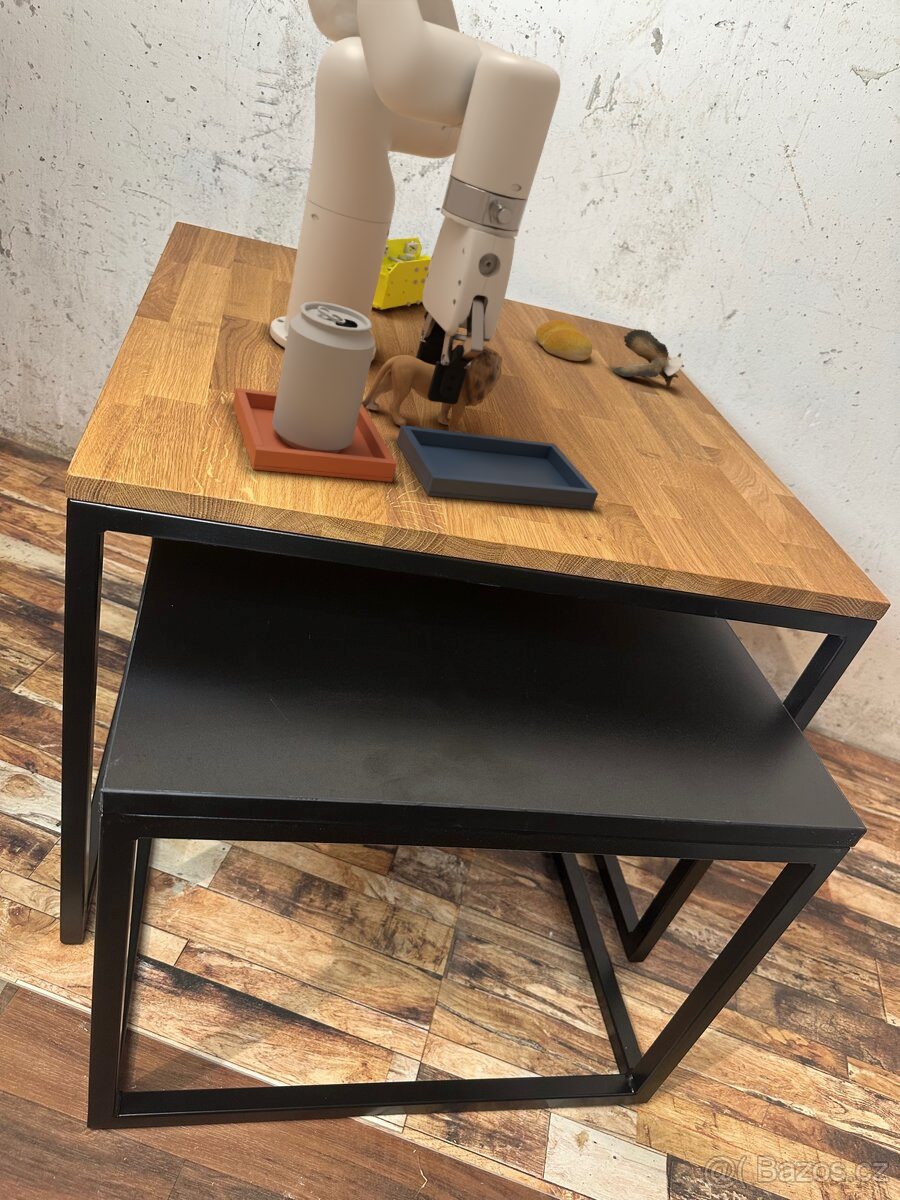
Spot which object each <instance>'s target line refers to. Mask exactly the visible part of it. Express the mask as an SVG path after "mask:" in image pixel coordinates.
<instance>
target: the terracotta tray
mask: <svg viewBox="0 0 900 1200" xmlns="http://www.w3.org/2000/svg"><path fill="white" fill-rule="evenodd" d="M276 397H277V392H274V391H265V390H256V389H249V388H242V387H235V389H234V397H233V403H232V407H233V410H234V415H235V417H236V421H237V423H238V426H239V429H240V432H241V436H242V439H243V442H244V445H245V448H246V449H245V450H246V452H247V455H248V459H249V462H250V464H251V467H252V470H255V471H267V472H277V473H289V474H300V475H310V476H321V477H332V478H343V479H355V480H364V481H375V482H387V483H392V482H393V480H394V476H395V471H396V468H397V462H396V459H395V458H394V457H393V455H392V453H391V452H390V450H389V448H388V446H387V444H386V443H385V441H384V440H383V437H382V435H381V434H380V432H379V430H378V429H377V426H375V423H374V421H373V420H372V418H371V416H370V414H369V412H368V411H367V409H366V407H365V408H364V406H363V404H361V407H360V411H359V416H358V420H357V424H356V429H355V433H354V437H353V441H352V444H351V445H349V446H348V447H346V448H344V449H342V450H340V451H339V452H337V453H334V454H333V453H323V452H313V451H304V450H298V449H296V448H293V447H291V446H290V445H288V444H287V443H285V442H284V441H283V440H282V439H281V438H280V435H279V434H278V433H277V432H276V430H275V429H274V428H273V424H272V420H273V414H274V409H275V403H276Z"/></svg>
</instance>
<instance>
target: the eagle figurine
mask: <svg viewBox="0 0 900 1200" xmlns="http://www.w3.org/2000/svg"><path fill="white" fill-rule="evenodd" d="M623 338H624V339H623V341H624V343H625V344H624V346H625V347H626V348H628V349H629V351H631V352H633V353H635V354H636V355H637V356H638V357H641V358H643V359H645V360H646V361H647V362H648V363H647V362H646V363H644V362H643V363H630V364H628V365H626V366H618V367H615V368H613V369H612V372H613V373H614V374H617V375H618V376H621V377H627V378H632V377H633V378H634V377H639V376H641V377H648V378H656V377H658V376H659V375H660V376H661V377H662V378H663V379H664V381H665V387H667V389H669V388H670V387H671V383H672V380H673V379H674V378H676V379H678V378H679V375H678V374H677V373H678V372H679V371H680V370H681V368H684V367H685V364H683V362H684V361H683V359H682V353H681V352H680V353H678V355H676V356H675V357H671V358H670V359H668V358H669V350H668V347H667V346H666V344H665V343H663V342H660V341H659V340H658V338H656V337H655V336H654V335H653V334H652V332H651V331H649V330H645V329H636V328H634V329H633V330H630V331H629V332H627V333H626V334H625V335H624V336H623Z"/></svg>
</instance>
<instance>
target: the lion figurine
mask: <svg viewBox="0 0 900 1200" xmlns="http://www.w3.org/2000/svg"><path fill="white" fill-rule="evenodd" d="M416 357H417V356H413V355H411V354H410V355H409V354H400V355H395V356H392V357H390V358H389V359H388V360H387V361H385V363H384V364H383V365H382V366H381V368H380V369H379V370H378V372H377V374H376V376H375V378H374V380H373V382H372V385H371V387H370V388H369V392H368V393H367V396H366V397H365V398H364V400H362V403H361V404H363V406H364V408H365V409H366V407H367V408H368V409H370V410H371V411H379V409H380V405H379V404H378V403H377V402H376V399H377V398H378V397H380V396H381V395H383V394H386V393H388V392H390V391H392V400H391V402H390V404H389V411H390V413H391V416H392V419H393V421H394V423H395V424H396V425H398V426H400V427H401V425H404V426H407V420H406V419H405V418H404V417H402V416H401V414H400V409H401V406H402V404H403V403H404V402H405V400H406V399H407V397H408V396H409V394H410V392H411V389H412V390H413V391H414V392H415V394H417V396H420V397H421V398H423V399H425V400H427V401H430V400H429V399H428V397H427V395H428V391H429V388H430V384H431V380H432V377H433V373H434V369H435V365H432V364H428V363H425V362H423V361H421V360H419V359H417V358H416ZM502 361H503V357H502V355H500V353H499V352H497V350H495V349H493V348H491V347H488V346H485V345H483V350H482V352H481V353H480V354H479V355H477V356H475V357H474V359H473V360H472V361H471V364H470V367H469V369H467V371H466V375H465V378H464V381H463V385H462V388H461V392H460V395H459V399H458V402H457V403H456V404H448V403H441V408H440V411H439V414H438V415H437V416H438V419H437V420H438V422H439V423H440V424H442V425H445V426H448V431H454V432H461V429H459V428H458V425H459V422H460V421H461V419H462V417H463V415H464V412H465V409H466V407H469V406H470V407H471V406H472V407H477V405H478V404H481V403H483V401H484V400H485V399H486V397H487V396H488V395H489V394H490V393H491V392H492V391H493V390H494V389H495V386H496V384H497V382H498V381H499V379H500V378H501V376H502ZM450 411H451V412H450ZM449 413H450V418H449Z"/></svg>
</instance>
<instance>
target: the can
mask: <svg viewBox="0 0 900 1200" xmlns="http://www.w3.org/2000/svg"><path fill="white" fill-rule="evenodd" d="M300 310H301V313H299V314H298V315H296V316H295V317H294V318H292V320H291V321H290V323H289V329H288V335H287V340H286V346H285V348H284V351H283V352H284V353H283V357H282V363H281V370H280V374H279V376H280V377H279V381H278V387H277V392H276V393H277V397H276V403H275V409H274V414H273V420H272V424H273V428H274V429H275V430H276V432H277V433H278V434H279V435H280V438H281V439H282V440H283V441H284V442H285V443H287V444H288V445H290V446H291V447H293V448H296V449H298V450H304V451H313V452H323V453H333V454H334V453H337V452H339V451H340V450H342V449H344V448H346V447H348V446H349V445H351V444H352V441H353V437H354V433H355V429H356V424H357V420H358V416H359V411H360V407H361V403H362V402H363V398H364V394H365V389H366V385H367V381H368V377H369V373H370V368H371V365H372V364H371V363H372V361H373V360H372V355H373V351H374V347H376V341H375V339H374V337H373V335H372V333H371V331H370V330H371V329H372V327H373V324H372V321H371V320H370V319H368V318H367V317H365V316H364V315H362V314H360V313H359V312H357V311H354V310H352V309H349V308H347V307H343V306H340V305H336V304H331V303H326V302H307V303H304V304H302V305H301V307H300ZM371 360H372V361H371Z"/></svg>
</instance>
